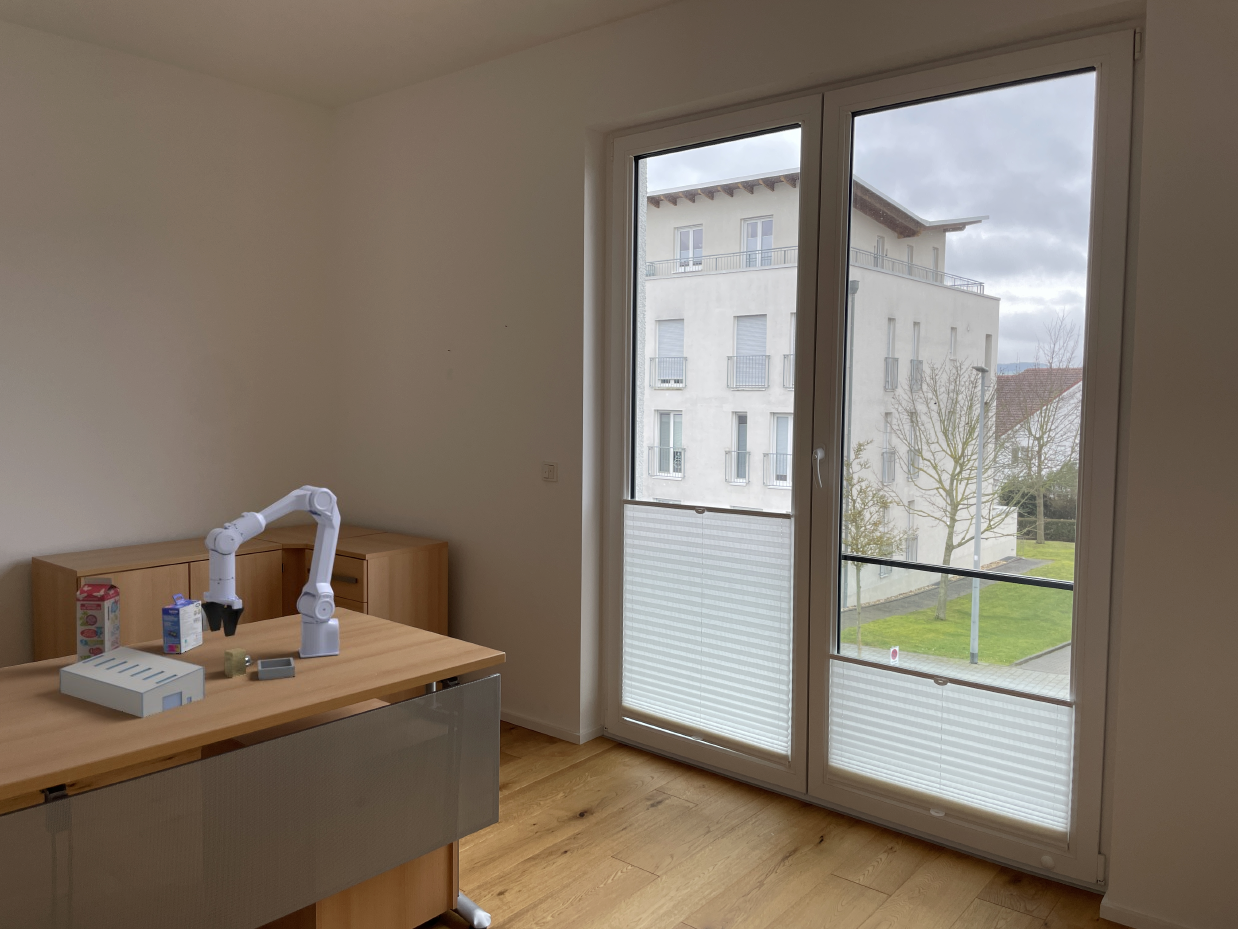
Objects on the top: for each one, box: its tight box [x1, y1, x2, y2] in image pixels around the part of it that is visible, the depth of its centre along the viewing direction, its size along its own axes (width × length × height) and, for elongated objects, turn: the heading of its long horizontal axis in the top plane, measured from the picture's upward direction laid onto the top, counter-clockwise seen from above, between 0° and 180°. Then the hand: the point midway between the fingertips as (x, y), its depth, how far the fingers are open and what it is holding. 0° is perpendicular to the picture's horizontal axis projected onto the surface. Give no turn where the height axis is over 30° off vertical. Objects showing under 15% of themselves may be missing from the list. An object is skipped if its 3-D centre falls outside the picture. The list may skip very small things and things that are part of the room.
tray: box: [257, 657, 296, 681], centre depth 210 cm, size 8×8×2 cm
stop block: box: [224, 647, 247, 678], centre depth 208 cm, size 3×3×6 cm
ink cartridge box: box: [161, 593, 203, 655], centre depth 229 cm, size 10×6×14 cm, turn 174°
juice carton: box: [76, 576, 121, 663], centre depth 212 cm, size 7×7×22 cm
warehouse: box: [58, 645, 206, 719], centre depth 192 cm, size 30×14×8 cm, turn 62°
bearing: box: [246, 659, 254, 667], centre depth 217 cm, size 5×5×1 cm
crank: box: [246, 654, 251, 662], centre depth 214 cm, size 9×4×4 cm, turn 1°
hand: (222, 633), depth 210 cm, fingers open, 6 cm apart
